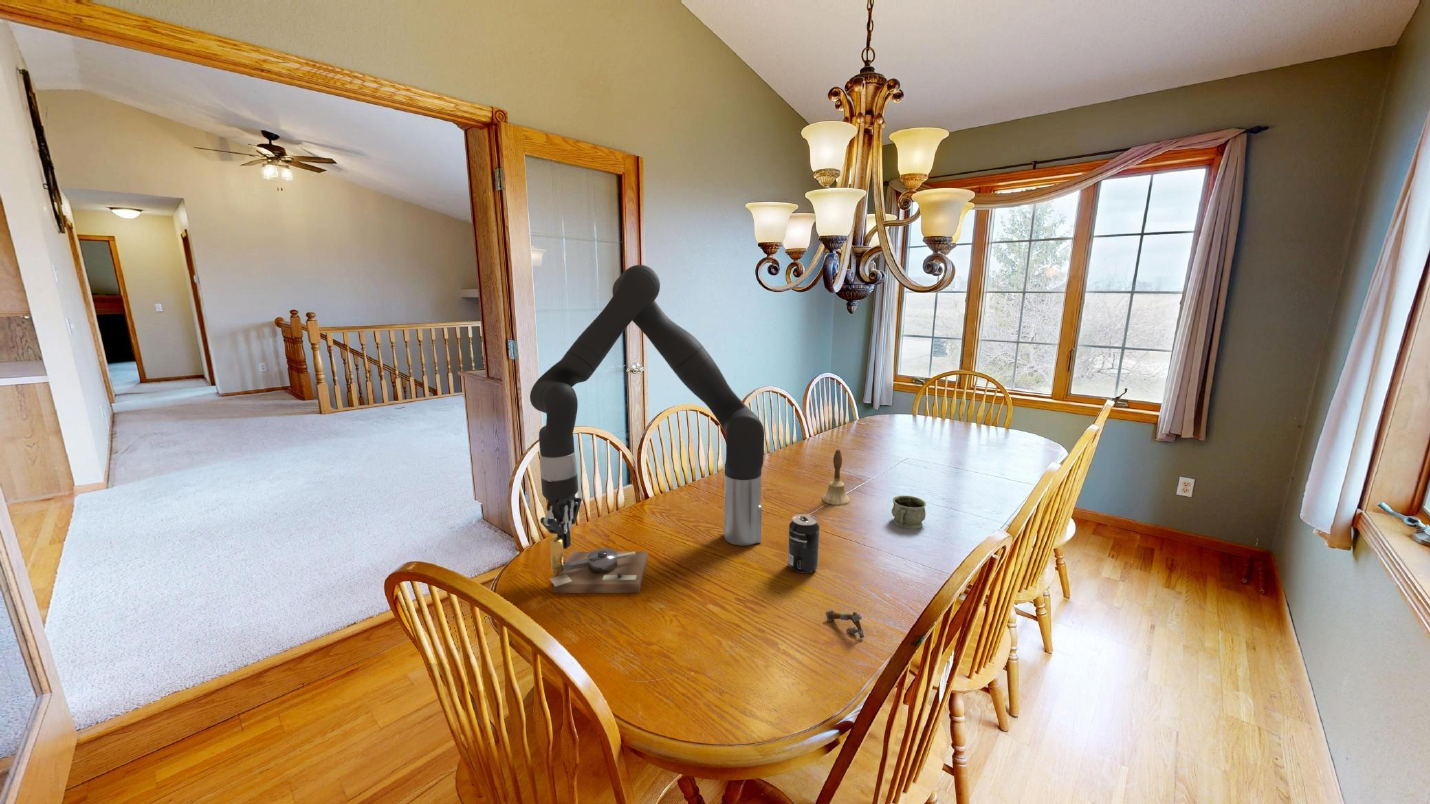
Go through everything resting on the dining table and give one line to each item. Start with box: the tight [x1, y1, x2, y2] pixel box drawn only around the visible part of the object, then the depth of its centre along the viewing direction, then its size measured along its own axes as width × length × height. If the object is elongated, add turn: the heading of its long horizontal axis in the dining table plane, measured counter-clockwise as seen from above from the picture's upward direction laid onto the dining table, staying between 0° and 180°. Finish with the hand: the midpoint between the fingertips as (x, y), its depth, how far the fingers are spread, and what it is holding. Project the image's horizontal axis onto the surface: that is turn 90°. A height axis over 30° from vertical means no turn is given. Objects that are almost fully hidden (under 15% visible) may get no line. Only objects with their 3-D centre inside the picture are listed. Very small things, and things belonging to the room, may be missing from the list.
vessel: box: [891, 495, 927, 529], centre depth 143 cm, size 12×9×6 cm
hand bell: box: [821, 449, 851, 506], centre depth 157 cm, size 8×8×16 cm
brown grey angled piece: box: [825, 608, 865, 639], centre depth 98 cm, size 2×8×4 cm, turn 37°
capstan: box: [549, 536, 636, 574], centre depth 114 cm, size 18×6×8 cm, turn 112°
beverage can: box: [787, 513, 821, 574], centre depth 118 cm, size 7×7×12 cm
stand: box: [549, 551, 648, 594], centre depth 116 cm, size 19×15×3 cm
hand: (564, 546), depth 115 cm, fingers closed
